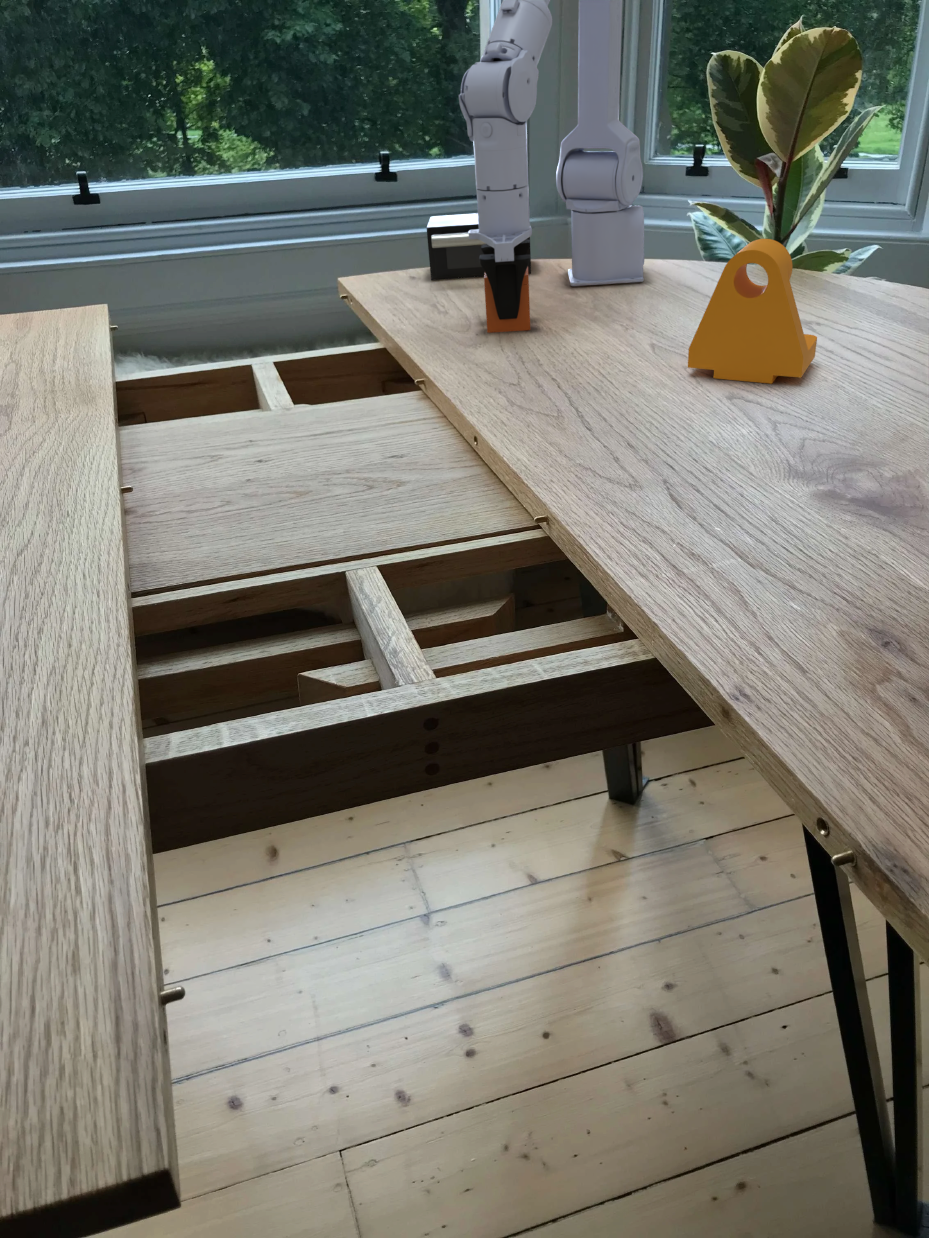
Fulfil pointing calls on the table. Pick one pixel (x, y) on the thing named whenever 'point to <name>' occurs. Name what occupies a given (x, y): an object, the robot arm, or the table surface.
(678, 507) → the table surface
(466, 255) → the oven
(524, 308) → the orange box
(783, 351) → the bracket
